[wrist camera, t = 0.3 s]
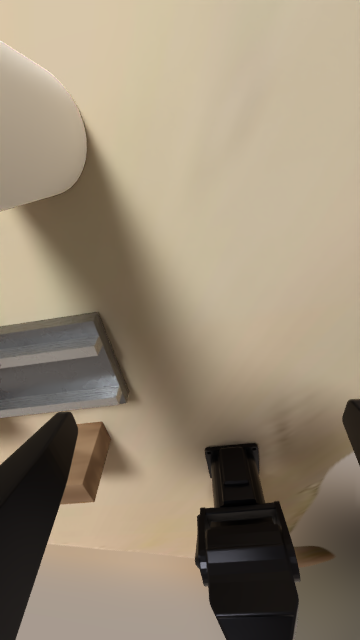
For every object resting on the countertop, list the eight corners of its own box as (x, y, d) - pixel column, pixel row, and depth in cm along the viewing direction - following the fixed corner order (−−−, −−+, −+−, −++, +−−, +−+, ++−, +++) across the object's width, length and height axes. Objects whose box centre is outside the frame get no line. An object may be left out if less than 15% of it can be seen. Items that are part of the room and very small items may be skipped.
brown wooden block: (110, 439, 33) (94, 501, 27) (68, 443, 33) (42, 505, 27) (102, 421, 31) (82, 484, 25) (57, 426, 32) (27, 488, 26)
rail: (128, 391, 28) (123, 415, 26) (-55, 413, 31) (-77, 436, 28) (98, 312, 23) (87, 330, 21) (-119, 344, 26) (-153, 365, 23)
